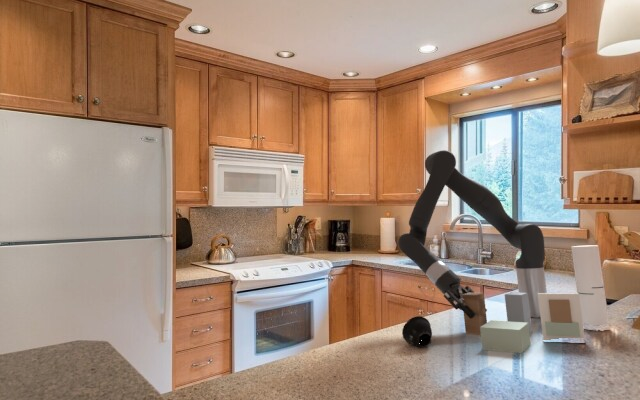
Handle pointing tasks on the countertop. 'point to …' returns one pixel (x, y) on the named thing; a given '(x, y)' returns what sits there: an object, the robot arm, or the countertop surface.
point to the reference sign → (560, 315)
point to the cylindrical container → (590, 284)
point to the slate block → (518, 308)
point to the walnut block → (478, 307)
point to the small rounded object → (417, 331)
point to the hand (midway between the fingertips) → (479, 314)
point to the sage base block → (505, 336)
